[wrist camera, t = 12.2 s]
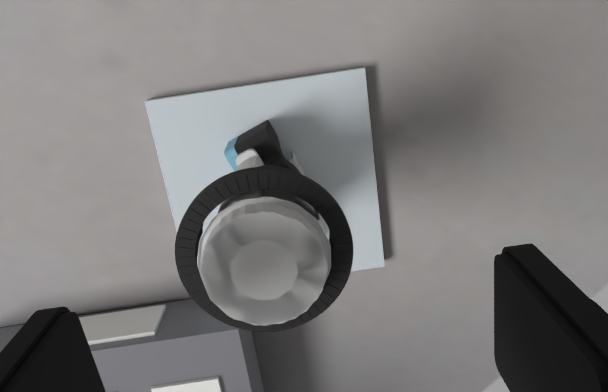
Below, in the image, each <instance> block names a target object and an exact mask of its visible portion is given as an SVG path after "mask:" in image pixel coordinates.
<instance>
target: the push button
mask: <svg viewBox="0 0 608 392" xmlns="http://www.w3.org/2000/svg"><path fill="white" fill-rule="evenodd" d="M224 154H225V157H226V159H227V160H228V162H229V164H230V165H231V167H232V168H233V170H234V172H231V173H229V174H227V175H224V176H222V177H220V178H219V179H217V180H215V181H214V182H212V183H211V184H209V185H208V186H207V187H206V188H204V189H203V190H202V191H201V192H200V193H199V194H198V195H197V196H196V197H195V199H194V200H193V201H192V203H191V204H190V205H189V207H188V209H187V211H186V212H185V214H184V216H183V218H182V220H181V223H180V225H179V228H178V232H177V236H176V242H175V259H176V265H177V270H178V273H179V276H180V279H181V281H182V283H183V285H184V287H185V289H186V290H187V292H188V293H189V295H190V296H191V297H192V299H193V300H194V301H195V302H196V303H197V304H198V305H199V306H200V307H201V308H202V309H203V310H204V311H205V312H207V313H208V314H209V315H211V316H212V317H214V318H216V319H217V320H219V321H221V322H223V323H225V324H228V325H230V326H233V327H236V328H239V329H244V330H249V331H257V332H272V331H280V330H285V329H290V328H293V327H296V326H299V325H301V324H304V323H306V322H308V321H310V320H312V319H313V318H315V317H317V316H318V315H319V314H321V313H322V312H323V311H325V310H326V309H327V308H328V307H329V306H330V305H331V304H332V303H333V302H334V301H335V300H336V298H337V297H338V296H339V295H340V293H341V291H342V290H343V288H344V286H345V284H346V282H347V280H348V278H349V275H350V272H351V268H352V263H353V239H352V234H351V230H350V227H349V224H348V222H347V219H346V217H345V215H344V213H343V211H342V209H341V207H340V206H339V204H338V203H337V201H336V200H335V199H334V198H333V197H332V195H331V194H330V193H329V192H328V191H327V190H326V189H324V188H323V187H322V186H321V185H319V184H318V183H317V182H315V181H313V180H312V179H310V178H308V177H306V176H305V173H304V170H303V167H302V166H301V164H300V162H299V160H298V159H297V157H296V155H295V153H294V152H293V151H292V152H291V154H292V158H291V159H290V160H286V159H285V157H284V155H283V153H282V150H281V147H280V143H279V139H278V136H277V134H276V132H275V130H274V128H273V127H272V125H271V123H270V122H269V120H266V121H264V122H262V123H260V124H259V125H257V126H255V127H253V128H252V129H250V130H248V131H246V132H245V133H243V134H241V135H239V136H238V137H236V138H234V139H232V140H231V141H229V142H228V143H227V146H226V148H225V150H224ZM219 204H221V205H220V208H219V211H218V214H217V215H216V216H215V217H214V218H212V220H211V222H210V223H209V225H208V226H207V228H206V229H205V231H204V232H203V223H204V221H205V219H206V218H207V216H208V215H209V214H210V213H211V212H212V211H213V210H214V209H215V208H216V207H217V206H218V205H219ZM319 214H320V215H321V216H322V218H323V219H324V221H325V222H326V224H327V226H328V228H329V240H328V238H327V236H326V234H325V232H324V230H323V228H322V226H321V224H320V223H319V222H318V220H319V219H320V218H319Z"/></svg>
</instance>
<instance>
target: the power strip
mask: <svg viewBox="0 0 608 392" xmlns="http://www.w3.org/2000/svg"><path fill="white" fill-rule="evenodd" d="M78 317H79V320H80V322H81V325H82V328H83V331H84V333H85V336H86V339H87V342H88V344H89V347H90V350H91V353H92V355H93V358H94V361H95V364H96V366H97V369H98V372H99V374H100V377H101V380H102V383H103V385H104V388H105V391H106V392H264V388H263V383H262V378H261V373H260V369H259V364H258V359H257V354H256V350H255V345H254V340H253V335H252V331H249V330H244V329H239V328H236V327H233V326H230V325H228V324H225V323H223V322H221V321H219V320H217V319H216V318H214V317H212V316H211V315H209V314H208V313H207V312H205V311H204V310H203V309H202V308H201V307H200V306H199V305H198V304H197V303H196V302H195V301H194V300H193V299H186V300H180V301H173V302H167V303H160V304H154V305H147V306H140V307H134V308H127V309H121V310H114V311H107V312H101V313H94V314H88V315H81V316H78ZM23 325H24V324H22V325H15V326H9V327H2V328H0V352H1V351H2V350H3V349H4V347H5V346H6V345H7V344H8V343H9V342H10V340H11V339H12V338H13V337H14V336H15V335H16V334H17V332H18V331H19V330H20V329H21V328H22V327H23Z"/></svg>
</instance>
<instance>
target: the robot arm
mask: <svg viewBox="0 0 608 392" xmlns="http://www.w3.org/2000/svg"><path fill="white" fill-rule="evenodd" d="M494 355H495V362H496V366H497V368H498V371H499V373H500V375H501V376H502V378H503V380H504V382H505V383H506V385H507V387H508V389H509V390H510V392H608V314H607V313H606V312H605V311H604V310H603V309H602V308H601V307H600V306H599V305H598V304H597V303H595V302H594V301H593V300H591V299H589V298H588V297H587V296H586V295H585V294H584V293H583V292H582V291H581V290H580V289H579V288H578V287H577V286H576V285H575V284H574V283H573V282H572V281H571V280H570V279H569V278H568V277H567V276H566V275H564V274H563V273H562V272H561V271H560V270H559V269H558V268H557V267H556V266H555V265H554V264H553V263H552V262H551V261H550V260H549V259H548V258H547V257H546V256H545V255H544V254H543V253H542V252H541V251H540V250H539V249H538V248H537V247H535V246H534V245H533V244H524V245H517V246H509V247H504V248H503V250H502V254H500V255H496V256H495V259H494ZM0 392H106V391H105V388H104V385H103V383H102V380H101V377H100V374H99V372H98V369H97V366H96V364H95V361H94V358H93V355H92V353H91V350H90V347H89V344H88V342H87V339H86V336H85V333H84V331H83V328H82V325H81V322H80V320H79V317H78V315H77V314H76V313H75V312H70V310H69V309H68V308H66V307H58V308H50V309H43V310H38V311H36V312H35V313H34V314H33V315H32V316H31V317H30V318H29V320H28V321H27V322H26V323H25V324H24V325H23V327H22V328H21V329H20V330H19V331H18V332H17V334H16V335H15V336H14V337H13V338H12V339H11V340H10V342H9V343H8V344H7V345H6V346H5V347H4V349H3V350H2V351H1V352H0Z"/></svg>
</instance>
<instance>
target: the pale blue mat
mask: <svg viewBox="0 0 608 392" xmlns="http://www.w3.org/2000/svg"><path fill="white" fill-rule="evenodd" d="M145 106H146V110H147V114H148V118H149V122H150V126H151V130H152V134H153V138H154V142H155V146H156V150H157V154H158V158H159V162H160V166H161V170H162V174H163V178H164V182H165V186H166V190H167V194H168V198H169V202H170V206H171V210H172V214H173V218H174V222H175V226H176V230H177V232H178V228H179V225H180V223H181V220H182V218H183V216H184V214H185V212H186V211H187V209H188V207H189V205H190V204H191V203H192V201H193V200H194V199H195V197H196V196H197V195H198V194H199V193H200V192H201V191H202V190H203V189H204V188H206V187H207V186H208V185H209V184H211V183H212V182H214V181H215V180H217V179H219V178H220V177H222V176H224V175H227V174H229V173H231V172H234V170H233V168H232V167H231V165H230V164H229V162H228V160H227V159H226V157H225V154H224V150H225V148H226V146H227V143H228V142H229V141H231V140H232V139H234V138H236V137H238V136H239V135H241V134H243V133H245V132H246V131H248V130H250V129H252V128H253V127H255V126H257V125H259V124H260V123H262V122H264V121H266V120H269V122H270V123H271V125H272V127H273V128H274V130H275V132H276V134H277V136H278V139H279V143H280V147H281V150H282V153H283V155H284V157H285V159H286V160H290V159H291V158H292V154H291V152H292V151H293V152H294V153H295V155H296V157H297V159H298V160H299V162H300V164H301V166H302V167H303V170H304V173H305V176H306V177H308V178H310V179H312V180H313V181H315V182H317V183H318V184H319V185H321V186H322V187H323V188H324V189H326V190H327V191H328V192H329V193H330V194H331V195H332V197H333V198H334V199H335V200H336V201H337V203H338V204H339V206H340V207H341V209H342V211H343V213H344V215H345V217H346V219H347V222H348V224H349V227H350V230H351V234H352V239H353V263H352V268H351V271H358V270H364V269H371V268H378V267H384V266H385V264H384V254H383V244H382V234H381V224H380V214H379V204H378V194H377V184H376V174H375V164H374V153H373V143H372V133H371V123H370V113H369V103H368V93H367V83H366V73H365V68H364V67H361V68H354V69H347V70H341V71H334V72H328V73H321V74H314V75H308V76H301V77H295V78H288V79H281V80H275V81H268V82H262V83H255V84H248V85H242V86H235V87H229V88H222V89H215V90H209V91H202V92H196V93H189V94H182V95H176V96H169V97H163V98H156V99H149V100H146V101H145ZM220 205H221V204H219V205H218V206H217V207H216V208H215V209H214V210H213V211H212V212H211V213H210V214H209V215H208V216H207V218H206V219H205V221H204V223H203V232H204V231H205V229H206V228H207V226H208V225H209V223H210V222H211V220H212V218H214V217H215V216H216V215H217V214H218V211H219V208H220ZM319 218H320V219H319V220H318V222H319V223H320V224H321V226H322V228H323V230H324V232H325V234H326V236H327V238H328V240H329V228H328V226H327V224H326V222H325V221H324V219H323V218H322V216H321V215H320V214H319Z"/></svg>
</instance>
